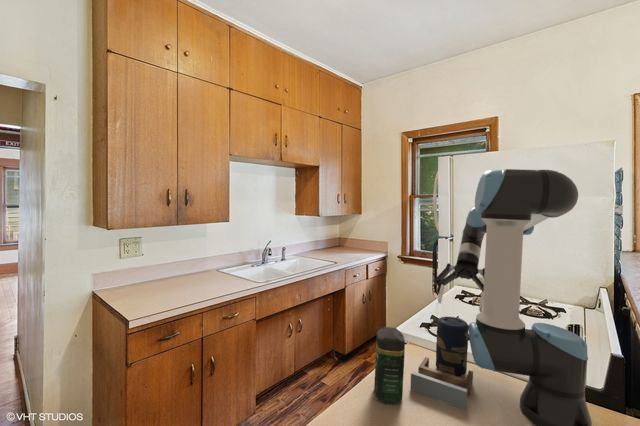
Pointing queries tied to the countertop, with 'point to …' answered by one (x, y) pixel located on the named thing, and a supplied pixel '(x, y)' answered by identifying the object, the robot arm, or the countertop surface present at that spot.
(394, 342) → the coffee jar
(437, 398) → the backstop wall
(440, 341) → the canister
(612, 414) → the countertop surface
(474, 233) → the robot arm
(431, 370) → the bracket
